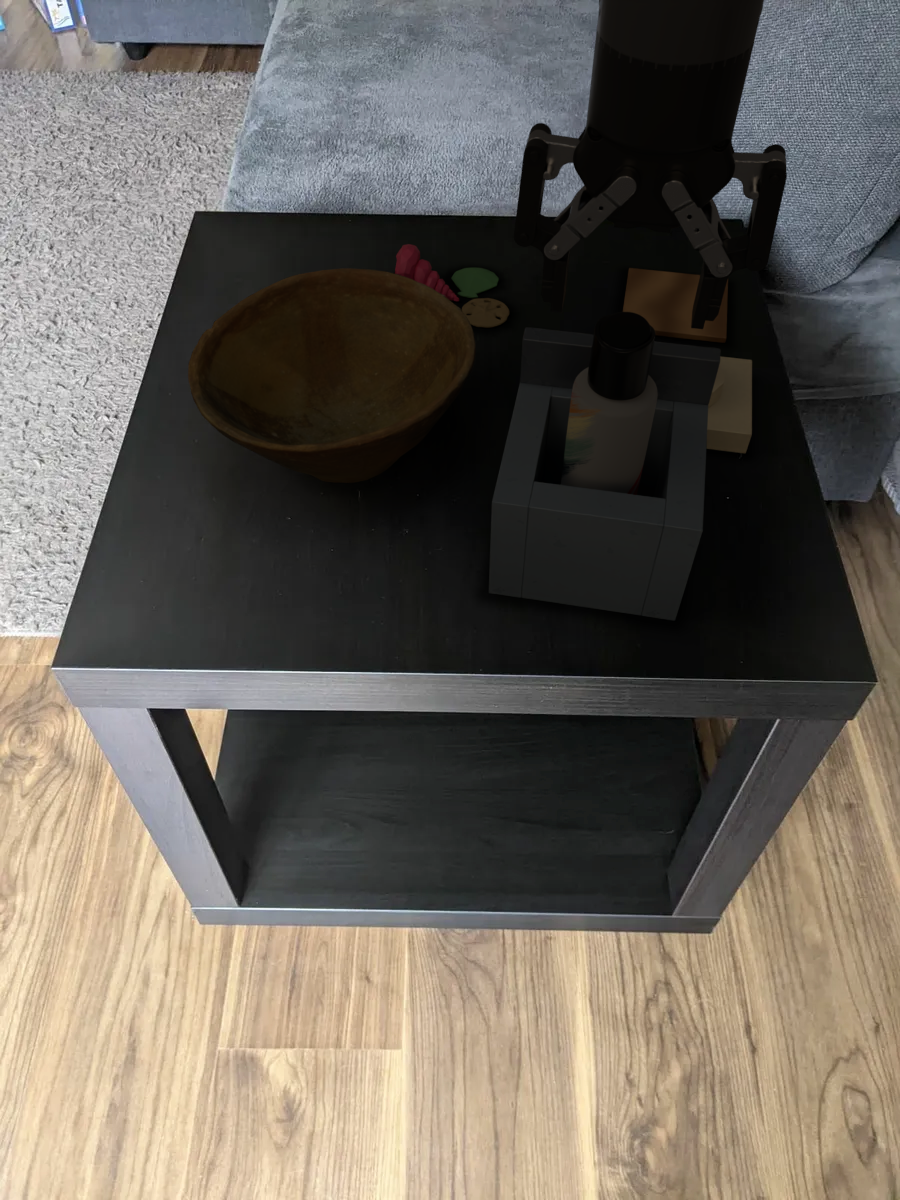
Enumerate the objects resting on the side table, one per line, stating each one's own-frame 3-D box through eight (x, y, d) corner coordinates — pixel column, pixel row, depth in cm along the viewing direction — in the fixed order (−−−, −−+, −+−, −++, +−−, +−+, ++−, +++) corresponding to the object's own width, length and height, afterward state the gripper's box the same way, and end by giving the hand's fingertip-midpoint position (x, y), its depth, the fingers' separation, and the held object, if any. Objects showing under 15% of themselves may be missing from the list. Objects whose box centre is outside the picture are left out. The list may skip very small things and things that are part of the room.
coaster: (726, 282, 95) (728, 277, 94) (725, 343, 89) (726, 338, 88) (628, 272, 96) (629, 267, 95) (619, 331, 90) (620, 326, 89)
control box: (746, 379, 85) (757, 343, 82) (745, 453, 79) (757, 418, 76) (615, 364, 87) (620, 328, 84) (604, 436, 81) (610, 400, 78)
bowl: (191, 396, 85) (163, 301, 77) (427, 340, 89) (424, 245, 82) (244, 570, 72) (217, 478, 64) (516, 494, 77) (522, 400, 69)
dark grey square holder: (683, 487, 77) (721, 348, 66) (675, 621, 69) (716, 487, 58) (516, 465, 79) (525, 326, 68) (488, 593, 71) (493, 458, 59)
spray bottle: (638, 529, 74) (686, 316, 58) (606, 576, 71) (648, 365, 56) (575, 501, 76) (605, 288, 60) (541, 546, 73) (563, 334, 57)
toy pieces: (382, 330, 90) (379, 290, 87) (401, 264, 97) (399, 225, 94) (505, 339, 89) (507, 299, 86) (516, 272, 96) (518, 233, 93)
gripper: (516, 45, 43) (503, 337, 56) (834, 69, 41) (745, 365, 54) (539, -18, 47) (521, 266, 60) (826, 2, 46) (745, 290, 59)
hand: (627, 313), depth 57 cm, fingers open, 8 cm apart
